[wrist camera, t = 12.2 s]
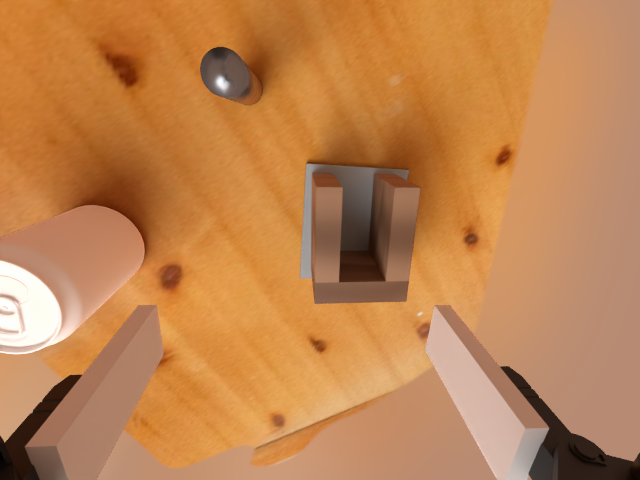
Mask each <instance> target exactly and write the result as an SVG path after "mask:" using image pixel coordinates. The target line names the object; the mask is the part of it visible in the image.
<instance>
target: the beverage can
mask: <svg viewBox="0 0 640 480" xmlns="http://www.w3.org/2000/svg"><path fill="white" fill-rule="evenodd" d="M144 255H145V247H144V242H143V239H142V236H141V234H140V233H139V231H138V229H137V228H136V227H135V225H134V224H133V223H132V222H131V221H130V220H129V219H128V218H126V217H125V216H124V215H122V214H121V213H119V212H117V211H115V210H113V209H110V208H107V207H103V206H98V205H86V206H80V207H77V208H74V209H72V210H69V211H66V212H64V213H61V214H59V215H56V216H54V217H51V218H49V219H46V220H44V221H41V222H38V223H36V224H33V225H31V226H28V227H26V228H23V229H21V230H18V231H15V232H13V233H10V234H8V235H5V236H3V237H0V352H1V353H7V354H24V353H30V352H34V351H37V350H40V349H42V348H44V347H46V346H49V345H52V344H55V343H57V342H60V341H62V340H63V339H65V338H67V337H68V336H69V335H71V334H72V333H73V332H74V331H75V330H76V329H77V328H78V327H79V326H80V325H81V324H82V323H84V322H85V321H86V320H87V319H88V318H89V317H90V316H91V315H92V314H93V313H94V312H95V311H96V310H97V309H98V308H99V307H100V306H101V305H103V304H104V303H105V302H106V301H107V300H108V299H109V298H110V297H111V296H112V295H113V294H114V293H115V292H116V291H117V290H118V289H119V288H120V287H122V286H123V285H124V284H125V283H126V282H127V281H128V280H129V279H130V278H131V277H132V276H133V275H134V274H135V273H136V272H137V271H138V270H139V269H140V267H141V265H142V263H143V260H144Z"/></svg>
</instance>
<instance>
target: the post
mask: <svg viewBox="0 0 640 480" xmlns="http://www.w3.org/2000/svg"><path fill="white" fill-rule="evenodd" d="M200 72H201V77H202V80H203V82H204V84H205V86H206V87H207V88H208V89H209V90H210V91H211V92H212V93H214V94H215V95H218V96H220V97H223V98H226V99H229V100H232V101H235V102H238V103H241V104H244V105H253V104H255V103H257V102H258V101H259V100H260V98H261V96H262V85H261V82H260V80H259V79H258V78H257V77H256V75H255V74H254V73H253V72H252V71H251V70H250V68H249V67H248V66H247V65H246V64H245V62H244V61H243V60H242V59H241V58H240V57H239V55H238V54H237V53H235V52H234V51H232V50H231V49H228V48H225V47H216V48H213V49H211V50H210V51H208V52H207V53H206V54H205V56H204V57H203V59H202V62H201V67H200Z"/></svg>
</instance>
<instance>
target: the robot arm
mask: <svg viewBox="0 0 640 480" xmlns="http://www.w3.org/2000/svg"><path fill="white" fill-rule="evenodd" d="M425 351H426V353H427V355H428V356H429V358H430V360H431V362H432V364H433V365H434V367H435V369H436V371H437V373H438V374H439V376H440V378H441V380H442V382H443V383H444V385H445V387H446V389H447V390H448V392H449V394H450V396H451V398H452V399H453V401H454V403H455V405H456V407H457V408H458V410H459V412H460V414H461V416H462V417H463V419H464V421H465V423H466V425H467V426H468V428H469V430H470V432H471V434H472V436H473V437H474V439H475V441H476V443H477V444H478V446H479V448H480V450H481V452H482V454H483V455H484V457H485V459H486V461H487V463H488V464H489V466H490V468H491V470H492V472H493V473H494V475H495V477H496V479H497V480H527V478H528V476H529V475H530V477H531V479H532V480H640V453H639V454H638V456H637V458H636V459H635V461H634V462H633V461H629V460H625V459H621V458H616V457H612V456H609V455H606V454H605V453H604V452H603V451H602V450H601V449H600V448H599V447H598V446H596V445H595V444H594V443H593V442H591V441H589V440H587V439H586V438H584V437H582V436H579V435H576V434H572V433H571V432H570V431H569V430H568V429H567V428H566V427H565V426H564V424H563V423H562V422H561V421H560V420H559V419H558V418H557V416H556V415H555V414H554V413H553V412H552V411H551V410H550V408H549V407H548V406H547V405H546V404H545V402H544V401H543V400H542V399H541V398H539V396H538V394H537V393H536V392H535V391H534V390H533V389H531V386H530V385H529V384H528V383H527V382H526V381H525V379H524V378H523V377H522V376H521V375H519V374H518V373H517V372H515V371H514V370H513V369H511V368H510V367H508V366H506V367H500V366H499V365H498V364H497V363H496V362H495V360H494V359H493V358H492V357H491V355H490V354H489V353H488V352H487V351H486V349H485V348H484V347H483V346H482V344H481V343H480V342H479V341H478V339H477V338H476V337H475V336H474V335H473V333H472V332H471V331H470V330H469V328H468V327H467V326H466V325H465V323H464V322H463V321H462V320H461V319H460V317H459V316H458V315H457V314H456V312H455V311H454V310H453V309H452V307H451V306H450V305H435V307H434V311H433V316H432V321H431V326H430V330H429V335H428V340H427V344H426V349H425ZM163 355H164V350H163V344H162V337H161V331H160V325H159V318H158V312H157V306H156V305H138V307H137V308H136V309H135V310H134V312H133V313H132V314H131V315H130V317H129V318H128V319H127V320H126V322H125V323H124V324H123V325H122V327H121V328H120V329H119V330H118V332H117V333H116V334H115V335H114V337H113V338H112V339H111V340H110V342H109V343H108V344H107V345H106V346H105V348H104V349H103V350H102V351H101V353H100V354H99V355H98V356H97V358H96V359H95V360H94V361H93V363H92V364H91V365H90V366H89V368H88V369H87V370H86V371H85V373H84V374H83V375H69V376H68V377H67V378H65V379H64V380H62V381H61V382H60V383H58V384H57V385H55V386H54V387H53V388H52V389H51V391H50V392H49V393H48V394H47V395H46V396H45V397H44V399H43V401H42V402H40V403H39V404H38V405H37V407H36V408H35V409H34V410H33V413H31V414H30V415H29V416H28V417H27V418H26V419H25V420H24V421H23V423H22V424H21V425H20V426H19V427H18V428H17V430H16V431H15V432H14V433H13V434H12V435H11V436H10V438H9V439H8V440H7V441H6V442H5V443H4V441H3V439H2V438H1V436H0V480H97V478H98V476H99V474H100V472H101V470H102V469H103V467H104V465H105V463H106V461H107V459H108V457H109V455H110V453H111V452H112V450H113V448H114V446H115V444H116V442H117V440H118V439H119V437H120V435H121V433H122V431H123V429H124V428H125V426H126V424H127V422H128V420H129V418H130V416H131V414H132V413H133V411H134V409H135V407H136V405H137V403H138V401H139V400H140V398H141V396H142V394H143V392H144V390H145V388H146V386H147V385H148V383H149V381H150V379H151V377H152V375H153V373H154V372H155V370H156V368H157V366H158V364H159V362H160V360H161V359H162V357H163Z"/></svg>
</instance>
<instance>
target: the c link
mask: <svg viewBox="0 0 640 480" xmlns="http://www.w3.org/2000/svg"><path fill="white" fill-rule="evenodd" d="M419 196H420V187H418V186H416V185H415V184H413V183H411V182H409V181H407V180H405V179H403V178H401V177H399V176H397V175H395V174H374V178H373V192H372V205H371V218H370V232H369V245H368V251H340V245H341V221H342V197H343V187H342V185H341V184H340V183H339V181H338V180H337V179H336V177H335V176H334V175H333V173H312V207H311V273H312V282H313V292H314V301H315V304H323V303H365V302H406V299H407V291H408V283H409V275H410V268H411V260H412V252H413V244H414V236H415V228H416V220H417V212H418V204H419Z"/></svg>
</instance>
